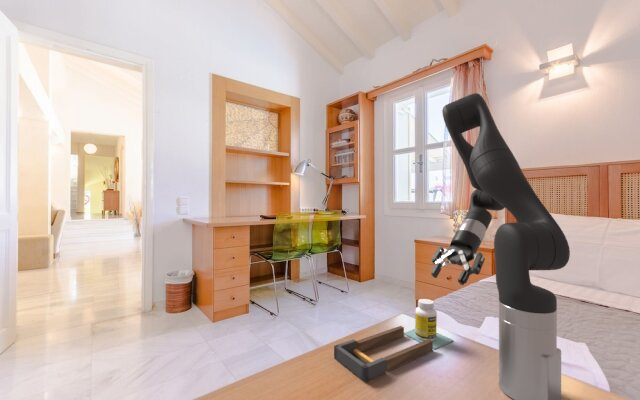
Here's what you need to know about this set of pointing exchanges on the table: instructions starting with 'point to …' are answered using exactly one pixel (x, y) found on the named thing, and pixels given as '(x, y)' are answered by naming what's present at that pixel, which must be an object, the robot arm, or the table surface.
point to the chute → (400, 356)
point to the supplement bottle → (425, 320)
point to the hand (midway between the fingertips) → (446, 279)
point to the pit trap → (359, 361)
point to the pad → (437, 342)
